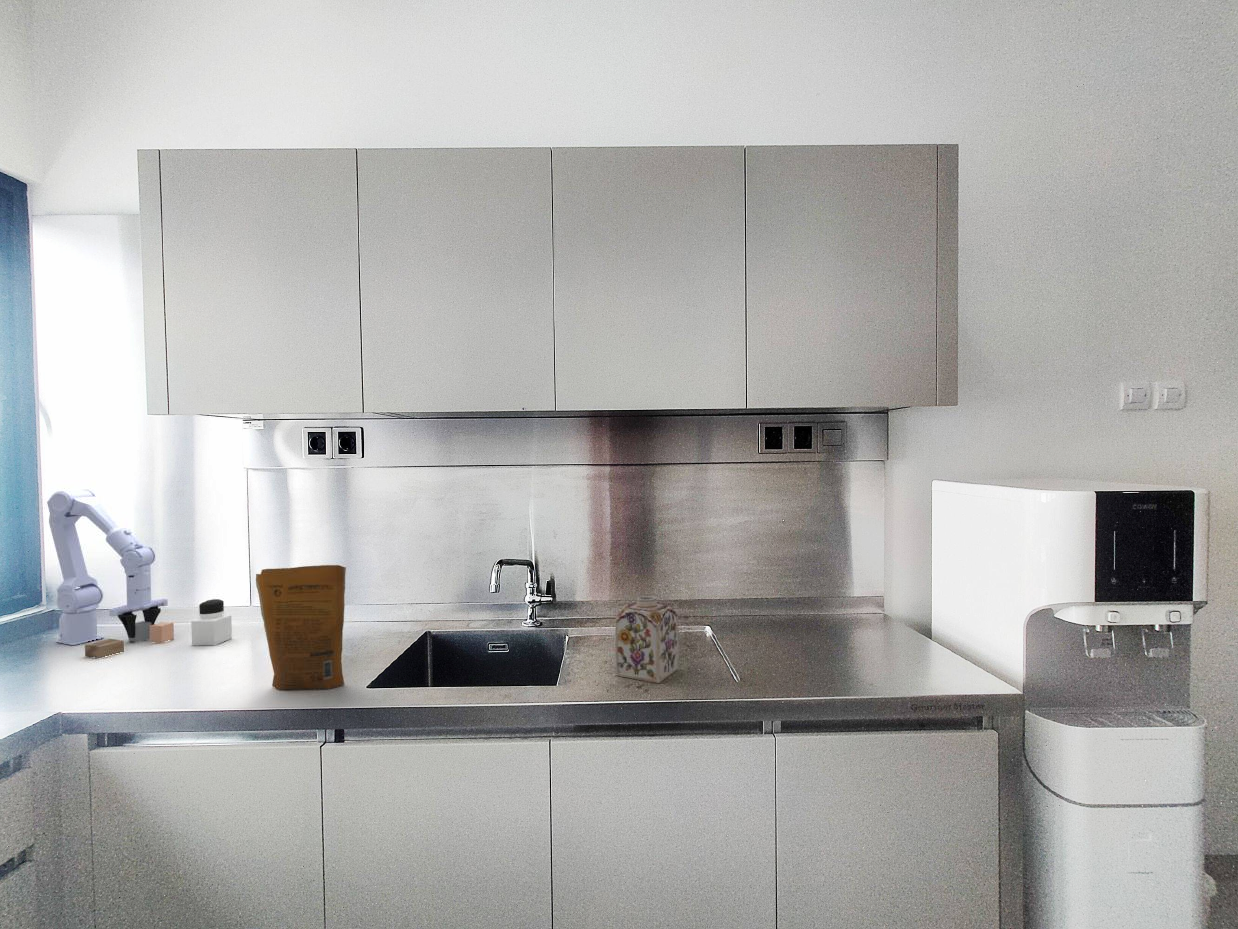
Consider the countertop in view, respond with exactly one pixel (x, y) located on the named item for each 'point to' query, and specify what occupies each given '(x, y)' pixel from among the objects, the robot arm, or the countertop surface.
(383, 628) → the countertop surface
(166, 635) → the terracotta block
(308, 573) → the pancake mix bag
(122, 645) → the walnut block
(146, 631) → the slate block
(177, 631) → the countertop surface
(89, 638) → the robot arm
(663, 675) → the decorative jar
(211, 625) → the medicine bottle
